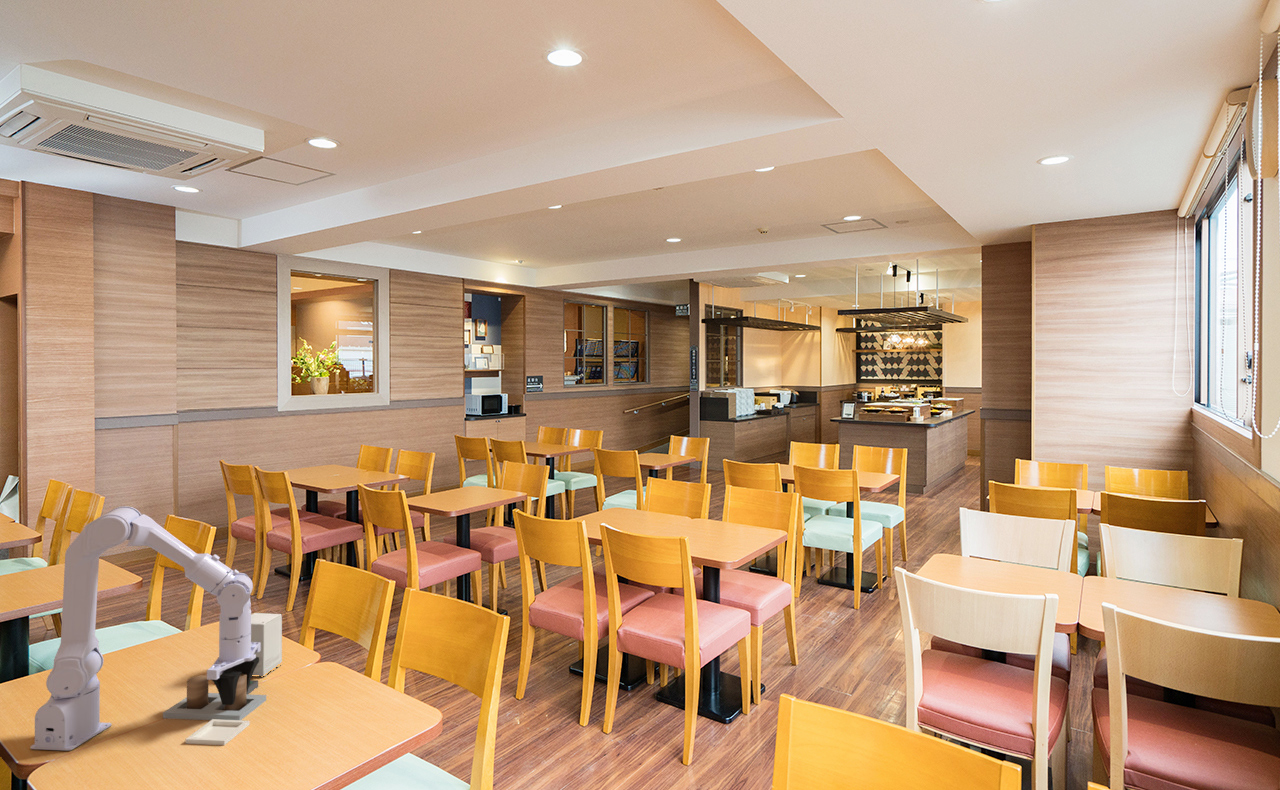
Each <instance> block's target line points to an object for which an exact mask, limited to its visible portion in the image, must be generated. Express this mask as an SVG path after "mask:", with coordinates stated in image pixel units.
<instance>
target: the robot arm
mask: <svg viewBox="0 0 1280 790" xmlns="http://www.w3.org/2000/svg"><path fill="white" fill-rule="evenodd" d="M126 541H128V543H127V544H126V547H144V546H145V547H149V548H151V550H152V549H153V550H154V551H156V552H158V553H159V554H160V555H162V556H164V557H166V558H167V559H169V560H170V561H173V562H174V563H175V564H177V565H179V566H180V567H183V569H184V570H183V571H184V577H185V578H187V579H188V580H189V581H191V582H192V583H194V584H196V585H197V586H199V587H200V588H202V589H203V590H204V591H206V592H207V593H209V594H211V595H212V596H215V597H216V602H217V604H218V605H219V606H220V607H219V608H220V612H219V617H218V619H219V627H218V628H219V632H218V633H219V637H218V638H219V639H218V643H219V644H218V657H217V658H216V660H215V661H214V663H213V664H212V665H211V666H210V667H209V668H208V669H207V670H206V676H207V679H208V681H209V680H211V681H212V683H213V684H214V686H215V688H216V690H217V693H219V695H220V698H221V701H222V704H223V705H232V704H234V701H235V695H236V687H237V683H238V679H239V677H240V675H241V673H242V674H246V675H247V692H248V688H249V684H250V681H251V680H252V678H253V677H252V675H253V672H254V670H255V668H256V666H257V664H258V663H259V657H256V654H254V653H258V652H260V651H261V643H260V642H251V615H252V610H251V607H252V603H251V594H252V592H253V589H254V583H253V581H252V579H251V578H250V577H249V576H248V574H247V573H244V572H240V571H239V570H238V569H234V570H233V569H231V568H230V567H229V566H227V565H226V564H225V563H223V562H221V561H220V558H221V557H220V556H219V555H217V554H213V555H211V554H210V553H208V552H206V553H205V552H204V553H197V552H195V551H194V550H193V549H191V548H190V547H189V546H187V545H186V544H185V543H184V542H182V541H181V540H179V539H178V538H177V537H175V536H174V535H173V534H171V532H169V531H168V530H166V529H165V528H164V527H162V526H161V525H160V524H159V523H157V522H156V521H155V520H154V519H153V518H152V517H150V516H149V515H147V514H144V513H143V514H142V513H141V512H140V510H138V509H137V508H135V507H132V506H128V505H127V506H125V505H124V506H123V505H122V506H118V507H115V508H113V509H112V510H109V511H108V512H107V513H105V514H103V515H101V516H98V517H97V518H95V519H93V520H92V521H91V522H89V523H87V524H85V526H84V527H83V529H82V530H81V531H80V533H79V534H78V535H77V536H76V538H75V539H74V540H73V541H72V543H71V544H70V545H69V546H68V547H67V549H66V550H65V555H64V569H63V570H64V571H63V572H64V574H63V575H64V576H63V589H62V590H63V591H62V592H63V593H62V609H61V610H62V611H61V612H62V613H61V628H60V629H61V632H60V634H61V635H60V644H59V647H58V649H57V651H56V653H55V655H54V659H53V667H52V670H51V671H50V672H49V674H48V676H47V678H46V684H45V685H46V688H47V690H48V692H49V693H50V694H51V695H50V697H49V698H48V700H47V701H46V702H45V703H44V704H43V705H42V706H40V707H39V708H38V709H37V711H36V713H35V715H34V744H32V745H31V746H30V749H31V750H47V751H68V752H69V751H72V750H74V749H77V748H78V747H79V746H80V745H82V744H84V743H86V742H87V741H89V740H91V739H92V738H94V737H96V736H97V735H98V734H100V733H101V732H103V731H105V730H107V729H108V728H110V727H111V726H112V723H111V722H100V719H101V718H100V713H101V712H100V711H101V710H100V709H101V708H100V707H101V705H100V702H101V700H100V695H101V691H100V690H101V689H100V688H101V687H100V685H101V682H100V680H99V679H98V676H97V674H98V673H99V672H100V671H101V670H102V667H103V666H104V662H105V661H104V660H105V659H104V656H103V654H102V652H101V651H100V647H99V646H100V645H99V642H100V641H99V639H98V637H97V636H96V625H97V624H96V622H97V621H96V620H97V606H98V605H97V604H98V603H97V602H98V587H99V585H98V584H99V568H100V567H99V566H100V565H99V564H100V557H101V555H103V554H104V553H105V552H107V551H108V550H109V549H113V548H114V547H117V546H119V545H122V544H123V543H125V542H126ZM247 692H246V694H247Z"/></svg>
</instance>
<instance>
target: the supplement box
mask: <svg viewBox="0 0 1280 790" xmlns="http://www.w3.org/2000/svg"><path fill="white" fill-rule="evenodd" d="M251 642H260V643H261V651H260V652H258V653H254V654H256V657H259V663H258V664H257V666H256V668H255V670H254V672H253V675H259V676H263V675H265V674H266V673H268V672H269V671H270V670H272V669H273V668H275V667H276V666H277V665H278V664H280V663H281V662H282V663H283V617H282V614H281V613H260V612H254V613H251Z"/></svg>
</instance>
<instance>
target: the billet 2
mask: <svg viewBox="0 0 1280 790" xmlns="http://www.w3.org/2000/svg"><path fill="white" fill-rule="evenodd" d="M246 692H247V675H246V674H242V673H241V675H240V677H239V679H238V683H237V687H236V695H235V701H234V704H232V705H225V708H224V710H230V711H239V710H241V709H242V708H243V707H245V706H246V705H247V704H246Z"/></svg>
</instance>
